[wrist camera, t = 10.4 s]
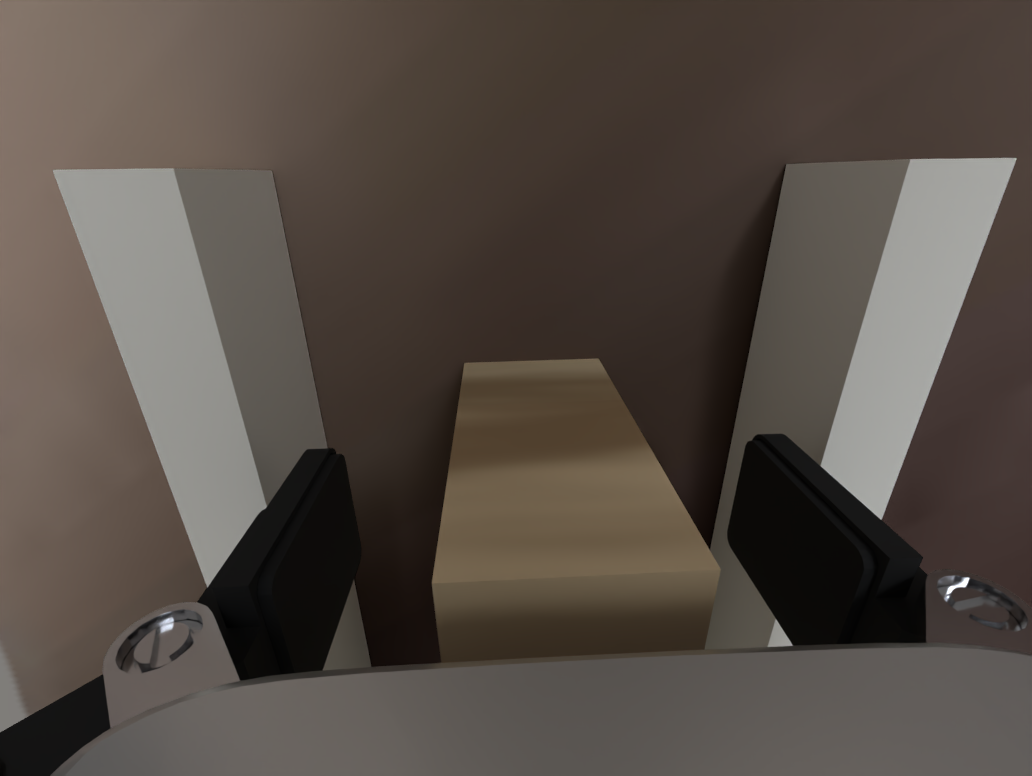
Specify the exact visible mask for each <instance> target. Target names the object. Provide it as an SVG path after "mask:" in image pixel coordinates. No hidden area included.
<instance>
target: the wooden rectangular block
mask: <svg viewBox="0 0 1032 776" xmlns="http://www.w3.org/2000/svg"><path fill="white" fill-rule="evenodd" d="M720 571H721V569H720V567H719V565H718V564H717V562H716V560H715V558H714V557H713V555H712V553H711V552H710V550H709V548H708V546H707V545H706V543H705V541H704V540H703V538H702V536H701V534H700V533H699V531H698V529H697V527H696V526H695V524H694V522H693V521H692V519H691V517H690V515H689V514H688V512H687V510H686V508H685V507H684V505H683V503H682V502H681V500H680V498H679V496H678V495H677V493H676V491H675V490H674V488H673V486H672V484H671V483H670V481H669V479H668V477H667V476H666V474H665V472H664V471H663V469H662V467H661V465H660V464H659V462H658V460H657V459H656V457H655V455H654V453H653V452H652V450H651V448H650V446H649V445H648V443H647V441H646V440H645V438H644V436H643V434H642V433H641V431H640V429H639V427H638V426H637V424H636V422H635V421H634V419H633V417H632V415H631V414H630V412H629V410H628V409H627V407H626V405H625V403H624V402H623V400H622V398H621V396H620V395H619V393H618V391H617V390H616V388H615V386H614V384H613V383H612V381H611V379H610V378H609V376H608V374H607V372H606V371H605V369H604V367H603V365H602V364H601V362H600V360H599V359H598V358H597V359H567V360H536V361H506V362H475V363H464V369H463V376H462V383H461V389H460V396H459V403H458V410H457V416H456V423H455V430H454V437H453V443H452V450H451V457H450V464H449V470H448V477H447V484H446V490H445V497H444V504H443V511H442V517H441V524H440V531H439V538H438V544H437V551H436V558H435V565H434V571H433V578H432V590H433V599H434V607H435V615H436V623H437V632H438V640H439V648H440V657H441V663H448V662H466V661H485V660H503V659H521V658H540V657H560V656H581V655H601V654H621V653H642V652H663V651H684V650H704V649H705V644H706V639H707V634H708V629H709V625H710V620H711V615H712V610H713V605H714V600H715V595H716V591H717V586H718V581H719V576H720Z"/></svg>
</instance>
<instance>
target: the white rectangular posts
mask: <svg viewBox="0 0 1032 776" xmlns="http://www.w3.org/2000/svg"><path fill="white" fill-rule="evenodd" d="M1016 159H1017V158H970V159H903V160H877V161H851V162H824V163H798V164H786V168H785V173H784V178H783V183H782V188H781V194H780V199H779V204H778V209H777V214H776V219H775V224H774V229H773V234H772V239H771V244H770V249H769V254H768V259H767V264H766V269H765V274H764V279H763V284H762V289H761V294H760V300H759V305H758V310H757V315H756V320H755V325H754V330H753V335H752V340H751V345H750V350H749V355H748V360H747V365H746V370H745V375H744V380H743V385H742V390H741V395H740V400H739V406H738V411H737V416H736V421H735V426H734V431H733V436H732V441H731V446H730V451H729V456H728V461H727V466H726V471H725V476H724V481H723V486H722V491H721V496H720V501H719V506H718V512H717V517H716V522H715V527H714V532H713V537H712V542H711V547H710V552H711V553H712V555H713V557H714V558H715V560H716V562H717V564H718V565H719V567H720V569H721V571H720V576H719V581H718V586H717V591H716V595H715V600H714V605H713V610H712V615H711V620H710V625H709V629H708V634H707V639H706V644H705V649H704V650H707V649H730V648H753V647H777V646H793V645H792V643H791V642H790V640H789V639H788V637H787V636H786V634H785V632H784V631H783V629H782V628H781V626H780V625H779V623H778V621H777V620H776V618H775V617H774V615H773V614H772V612H771V610H770V609H769V607H768V606H767V604H766V603H765V601H764V599H763V598H762V596H761V595H760V593H759V592H758V590H757V588H756V587H755V585H754V584H753V582H752V581H751V579H750V577H749V576H748V574H747V573H746V571H745V570H744V568H743V567H742V565H741V563H740V562H739V560H738V559H737V557H736V556H735V554H734V552H733V551H732V549H731V548H730V546H729V543H728V539H727V530H728V525H729V520H730V515H731V511H732V506H733V501H734V497H735V492H736V487H737V483H738V478H739V473H740V468H741V464H742V459H743V454H744V450H745V446H746V443H747V442H748V441H752V439H753V438H754V436H755V435H757V434H784V435H786V436H787V437H788V438H789V439H791V440H792V441H793V442H794V443H795V444H796V445H797V446H798V447H800V448H801V449H802V450H803V451H804V452H805V453H806V454H807V455H809V456H810V457H811V458H812V459H813V460H814V461H815V462H816V463H818V464H819V465H820V466H821V467H822V468H823V469H824V470H825V471H827V472H828V473H829V474H830V475H831V476H832V477H833V478H834V479H836V480H837V481H838V482H839V483H840V484H841V485H842V486H843V487H845V488H846V489H847V490H848V491H849V492H850V493H851V494H853V495H854V496H855V497H856V498H857V499H858V500H859V501H860V502H862V503H863V504H864V505H865V506H866V507H867V508H868V509H869V510H871V511H872V512H873V513H874V514H875V515H876V516H877V517H878V518H880V519H881V520H882V517H883V514H884V512H885V509H886V506H887V504H888V501H889V498H890V496H891V493H892V490H893V488H894V485H895V482H896V480H897V477H898V474H899V472H900V469H901V466H902V464H903V461H904V458H905V456H906V453H907V450H908V448H909V445H910V442H911V439H912V437H913V434H914V431H915V429H916V426H917V423H918V421H919V418H920V415H921V413H922V410H923V407H924V405H925V402H926V399H927V397H928V394H929V391H930V389H931V386H932V383H933V381H934V378H935V375H936V373H937V370H938V367H939V365H940V362H941V359H942V357H943V354H944V351H945V349H946V346H947V343H948V341H949V338H950V335H951V333H952V330H953V327H954V325H955V322H956V319H957V317H958V314H959V311H960V309H961V306H962V303H963V301H964V298H965V295H966V293H967V290H968V287H969V285H970V282H971V279H972V277H973V274H974V271H975V269H976V266H977V263H978V261H979V258H980V255H981V253H982V250H983V247H984V245H985V242H986V239H987V237H988V234H989V231H990V229H991V226H992V223H993V221H994V218H995V215H996V213H997V210H998V207H999V205H1000V202H1001V199H1002V197H1003V194H1004V191H1005V189H1006V186H1007V183H1008V181H1009V178H1010V175H1011V173H1012V170H1013V167H1014V165H1015V162H1016ZM53 173H54V175H55V178H56V181H57V183H58V186H59V189H60V191H61V194H62V197H63V199H64V202H65V205H66V208H67V210H68V213H69V216H70V218H71V221H72V224H73V226H74V229H75V232H76V235H77V237H78V240H79V243H80V245H81V248H82V251H83V253H84V256H85V259H86V262H87V264H88V267H89V270H90V272H91V275H92V278H93V280H94V283H95V286H96V289H97V291H98V294H99V297H100V299H101V302H102V305H103V307H104V310H105V313H106V315H107V318H108V321H109V324H110V326H111V329H112V332H113V334H114V337H115V340H116V342H117V345H118V348H119V351H120V353H121V356H122V359H123V361H124V364H125V367H126V369H127V372H128V375H129V378H130V380H131V383H132V386H133V388H134V391H135V394H136V396H137V399H138V402H139V405H140V407H141V410H142V413H143V415H144V418H145V421H146V423H147V426H148V429H149V431H150V434H151V437H152V440H153V442H154V445H155V448H156V450H157V453H158V456H159V458H160V461H161V464H162V467H163V469H164V472H165V475H166V477H167V480H168V483H169V485H170V488H171V491H172V494H173V496H174V499H175V502H176V504H177V507H178V510H179V512H180V515H181V518H182V521H183V523H184V526H185V529H186V531H187V534H188V537H189V539H190V542H191V545H192V547H193V550H194V553H195V556H196V558H197V561H198V564H199V566H200V569H201V572H202V574H203V577H204V580H205V583H206V585H207V587H208V586H209V584H210V583H211V582H212V580H213V579H214V577H215V576H216V574H217V573H218V571H219V570H220V569H221V567H222V566H223V564H224V563H225V561H226V560H227V558H228V557H229V556H230V554H231V553H232V551H233V550H234V548H235V547H236V545H237V544H238V543H239V541H240V540H241V538H242V537H243V535H244V534H245V532H246V531H247V530H248V528H249V527H250V525H251V524H252V522H253V521H254V519H255V518H256V517H257V515H258V514H259V513H260V512H261V511H262V510H264V509H266V507H267V506H268V504H269V503H270V501H271V500H272V498H273V497H274V496H275V494H276V493H277V491H278V490H279V488H280V487H281V485H282V484H283V482H284V481H285V479H286V478H287V476H288V475H289V474H290V472H291V471H292V469H293V468H294V466H295V465H296V463H297V462H298V460H299V459H300V457H301V456H302V454H303V453H304V452H305V451H306V450H307V449H325V448H328V447H327V442H326V437H325V432H324V427H323V422H322V417H321V412H320V407H319V402H318V397H317V392H316V387H315V382H314V377H313V372H312V367H311V362H310V357H309V352H308V347H307V342H306V337H305V332H304V327H303V322H302V317H301V312H300V308H299V303H298V298H297V293H296V288H295V283H294V278H293V273H292V268H291V263H290V258H289V253H288V248H287V243H286V238H285V233H284V228H283V223H282V218H281V213H280V208H279V203H278V198H277V193H276V188H275V183H274V178H273V173H272V170H230V169H183V168H157V169H76V170H53ZM365 667H371V662H370V657H369V652H368V647H367V642H366V637H365V632H364V627H363V622H362V617H361V612H360V607H359V602H358V597H357V592H356V587H355V582H354V581H353V584H352V586H351V589H350V592H349V595H348V598H347V601H346V604H345V607H344V610H343V613H342V615H341V618H340V621H339V624H338V627H337V630H336V633H335V636H334V639H333V642H332V645H331V647H330V650H329V653H328V656H327V659H326V662H325V665H324V668H323V671H324V670H336V669H351V668H365Z"/></svg>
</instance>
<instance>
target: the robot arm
mask: <svg viewBox="0 0 1032 776" xmlns="http://www.w3.org/2000/svg"><path fill="white" fill-rule="evenodd" d="M727 539H728V543H729V546H730V548H731V549H732V551H733V552H734V554H735V556H736V557H737V559H738V560H739V562H740V563H741V565H742V567H743V568H744V570H745V571H746V573H747V574H748V576H749V577H750V579H751V581H752V582H753V584H754V585H755V587H756V588H757V590H758V592H759V593H760V595H761V596H762V598H763V599H764V601H765V603H766V604H767V606H768V607H769V609H770V610H771V612H772V614H773V615H774V617H775V618H776V620H777V621H778V623H779V625H780V626H781V628H782V629H783V631H784V632H785V634H786V636H787V637H788V639H789V640H790V642H791V643H792V645H793V646H777V647H753V648H730V649H707V650H684V651H663V652H642V653H621V654H601V655H581V656H560V657H540V658H521V659H503V660H485V661H466V662H448V663H430V664H412V665H395V666H380V667H365V668H351V669H336V670H324V671H323V668H324V665H325V662H326V659H327V656H328V653H329V650H330V647H331V645H332V642H333V639H334V636H335V633H336V630H337V627H338V624H339V621H340V618H341V615H342V613H343V610H344V607H345V604H346V601H347V598H348V595H349V592H350V589H351V586H352V584H353V581H354V578H355V575H356V572H357V569H358V566H359V563H360V559H361V543H360V538H359V533H358V527H357V522H356V516H355V511H354V506H353V500H352V495H351V489H350V484H349V479H348V473H347V468H346V462H345V458H344V456H343V455H342V454H336V451H335V450H334V449H333V448H325V449H307V450H306V451H305V452H304V453H303V454H302V456H301V457H300V459H299V460H298V462H297V463H296V465H295V466H294V468H293V469H292V471H291V472H290V474H289V475H288V476H287V478H286V479H285V481H284V482H283V484H282V485H281V487H280V488H279V490H278V491H277V493H276V494H275V496H274V497H273V498H272V500H271V501H270V503H269V504H268V506H267V507H266V509H264V510H262V511H261V512H260V513H259V514H258V515H257V517H256V518H255V519H254V521H253V522H252V524H251V525H250V527H249V528H248V530H247V531H246V532H245V534H244V535H243V537H242V538H241V540H240V541H239V543H238V544H237V545H236V547H235V548H234V550H233V551H232V553H231V554H230V556H229V557H228V558H227V560H226V561H225V563H224V564H223V566H222V567H221V569H220V570H219V571H218V573H217V574H216V576H215V577H214V579H213V580H212V582H211V583H210V584H209V586H208V587H207V589H206V590H205V592H204V593H203V595H202V596H201V597H200V599H199V600H198V602H183V603H178V604H173V605H169V606H166V607H163V608H161V609H158V610H156V611H153V612H151V613H150V614H148V615H146V616H144V617H143V618H141V619H139V620H137V621H136V622H135V623H133V624H132V625H131V626H130V627H128V628H127V629H126V630H125V631H123V632H122V633H121V634H120V635H119V637H118V638H117V639H116V640H115V641H114V642H113V643H112V644H111V646H110V648H109V650H108V651H107V653H106V655H105V657H104V662H103V675H101V676H99V677H98V678H96V679H94V680H92V681H90V682H89V683H87V684H85V685H83V686H82V687H80V688H78V689H76V690H75V691H73V692H71V693H69V694H67V695H66V696H64V697H62V698H60V699H59V700H57V701H55V702H53V703H52V704H50V705H48V706H46V707H44V708H43V709H41V710H39V711H37V712H36V713H34V714H32V715H30V716H29V717H27V718H25V719H23V720H21V721H20V722H18V723H16V724H14V725H13V726H11V727H9V728H7V729H6V730H4V731H2V732H0V776H1032V609H1031V608H1030V607H1029V605H1028V604H1027V603H1026V602H1024V601H1023V600H1022V599H1020V598H1019V597H1018V596H1016V595H1015V594H1014V593H1012V592H1011V591H1009V590H1007V589H1006V588H1004V587H1002V586H1000V585H998V584H997V583H995V582H993V581H990V580H988V579H985V578H983V577H980V576H978V575H975V574H971V573H968V572H964V571H960V570H951V569H942V570H935V571H933V572H931V573H930V574H928V575H927V574H926V573H925V572H924V571H923V570H922V569H921V568H920V567H919V566H920V563H921V561H922V559H923V557H922V556H921V555H920V554H919V553H918V552H917V551H916V550H914V549H913V548H912V547H911V546H910V545H909V544H908V543H907V542H905V541H904V540H903V539H902V538H901V537H900V536H899V535H898V534H896V533H895V532H894V531H893V530H892V529H891V528H890V527H889V526H887V525H886V524H885V523H884V522H883V521H882V520H881V519H880V518H878V517H877V516H876V515H875V514H874V513H873V512H872V511H871V510H869V509H868V508H867V507H866V506H865V505H864V504H863V503H862V502H860V501H859V500H858V499H857V498H856V497H855V496H854V495H853V494H851V493H850V492H849V491H848V490H847V489H846V488H845V487H843V486H842V485H841V484H840V483H839V482H838V481H837V480H836V479H834V478H833V477H832V476H831V475H830V474H829V473H828V472H827V471H825V470H824V469H823V468H822V467H821V466H820V465H819V464H818V463H816V462H815V461H814V460H813V459H812V458H811V457H810V456H809V455H807V454H806V453H805V452H804V451H803V450H802V449H801V448H800V447H798V446H797V445H796V444H795V443H794V442H793V441H792V440H791V439H789V438H788V437H787V436H786V435H784V434H757V435H755V436H754V438H753V439H752V441H748V442H747V443H746V446H745V450H744V454H743V459H742V464H741V468H740V473H739V478H738V483H737V487H736V492H735V497H734V501H733V506H732V511H731V515H730V520H729V525H728V530H727Z"/></svg>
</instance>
